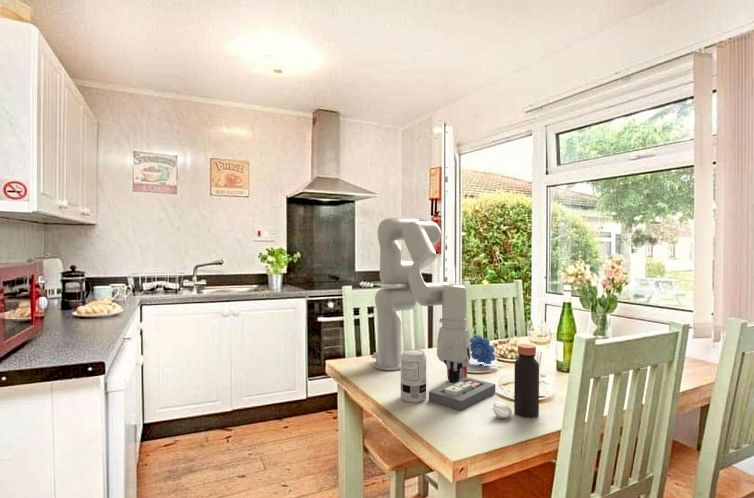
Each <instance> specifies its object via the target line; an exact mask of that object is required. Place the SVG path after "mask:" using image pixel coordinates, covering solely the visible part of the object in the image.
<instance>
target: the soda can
mask: <svg viewBox="0 0 754 498" xmlns="http://www.w3.org/2000/svg"><path fill="white" fill-rule="evenodd" d="M446 370H447V371H446V373H447V380H448V381H449V370H448V369H446ZM462 377H468V366H466V367H462V368H461V369H460V378H462Z"/></svg>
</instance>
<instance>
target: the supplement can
mask: <svg viewBox="0 0 754 498" xmlns="http://www.w3.org/2000/svg"><path fill="white" fill-rule="evenodd" d="M400 398H401V399H402V400H403V401H404V402H407V403H413V404H415V403H416V404H418V403H422V402H424V401H425V399H427V355H426V354H425V351H423V350H421V349H420V350H419V349H406V350H403V351H402V352H401V369H400Z"/></svg>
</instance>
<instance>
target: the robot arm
mask: <svg viewBox="0 0 754 498" xmlns="http://www.w3.org/2000/svg"><path fill="white" fill-rule="evenodd" d="M441 236H442V231H441V228H440V227H439V225H438V224H437V223H436V222H434V221H431V220H428V219H427V220H426V219H421V218H414V217H413V218H408V217H407V218H406V217H405V218H404V217H390V218H389V217H388V218H385V219H383V220H381V221H380V223H379V225H378V227H377V240H378V243H379V280H380V282H381V283H382V284H384V285H402V286H396V287H395V286H394V287H384V288H381V289H379V290H377V291H376V293H375V295H374V301H375V302H374V304H375V309H376V316H377V318H376V319H377V351H375V352H374V353H373V354H372V355H371V358H372V359H375V361H374V363H373V367H374V368H375V369H378V370H381V371H399V370H400V371H401V355H402V321H401V319H400V317H399V316H398V314H397V312H399V311H411V310H414V309H415V308H416V306H417V304H419V305H420V306H424V307H432V306H441V318H439V320H438V321H439V323H441V326H440V327H439V329H438V333H437V340H436V341H437V344H436V357H437V358H438V360H439V361H440V362H442V363H444V365H445V366H446V368H447V369H448V370H449V380H448V383H453V384H454V383H457V382H459V379H460V369H461V368H462V367H466V366H467V367H469V366H470V365H471V363H470V360H471V358H472V356H471V353H472V352H471V348H470V344H471V342H470V339H471V337H470V333H469V329H468V328H467V288H466V287H465V285H462V284H456V283H455V284H454V283H452V282H450V281H432V282H425V280H424V277H423V275H422V269H424V268H427V267H428V266H430V265H432V263H434V262H435V261H436V258H437V253H436V250H435V248H434V246H433V245H435V244H438V243H439V241H440V240H441V238H442V237H441ZM399 241H404V243H405V246H406V248H407V251H408V253H409V255H410V258H411V260H410V259H406V260H405V259H402V253H403V252H402V247H401V245H400V243H399ZM447 369H446V370H447Z"/></svg>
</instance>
